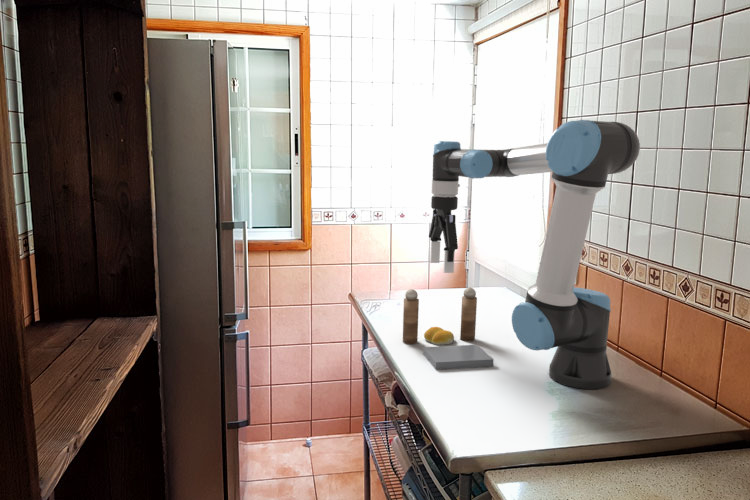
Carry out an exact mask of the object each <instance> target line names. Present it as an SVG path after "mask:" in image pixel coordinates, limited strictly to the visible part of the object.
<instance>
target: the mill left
mask: <svg viewBox="0 0 750 500" xmlns="http://www.w3.org/2000/svg"><path fill="white" fill-rule="evenodd" d="M404 295H405V298H403V314H402V317H403V318H402V343H403V344H406V345H415V344H417V343H418V338H419V337H418V336H419V335H418V333H419V310H420V309H419V305H420V301H419V300H420V299H419V298H418V293H417V291H416V290H415V289H411V288H410V289H408V290H406V292H405V294H404Z"/></svg>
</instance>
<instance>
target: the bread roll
mask: <svg viewBox="0 0 750 500" xmlns="http://www.w3.org/2000/svg"><path fill="white" fill-rule="evenodd" d="M423 337H424V340H425V341H426V342H428V343H432V344H433V345H436V346H437V345H438V346H449V345H451V344H453V342H454V341H455V336H454V334H453V332H452V331H450V330H446V329H443V328H442V327H439V326H432V327H430V328H428V329H427V330H425V332H424V334H423Z"/></svg>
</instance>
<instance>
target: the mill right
mask: <svg viewBox="0 0 750 500" xmlns="http://www.w3.org/2000/svg"><path fill="white" fill-rule="evenodd" d="M476 293H477V292H476V290H475V289H474V288H473V287H466V288H465V289H464V291H463V296H462V297H461V315H460V317H461V318H460V334H459V338H460V340H461V341H463V342H474V341H475V339H476V326H477V323H476V322H477V303H478V298H477V295H476Z"/></svg>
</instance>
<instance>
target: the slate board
mask: <svg viewBox="0 0 750 500" xmlns="http://www.w3.org/2000/svg"><path fill="white" fill-rule="evenodd" d="M422 354H423V356H424V357H425V358H426V359H427V361H428V362H429V363H430V364H431V366H432V367H433V368H434V370H435V371H437V370H452V369H454V370H455V369H470V368H471V369H473V368H474V369H475V368H487V367H488V368H490V367H491V368H492V367H494V358H493V357H492V356H491V355H489V353H487V352H486V351H485V350H484V349H483V348H482V347H481V346H480V345H479V344H465V345H464V344H463V345H439V346H425V347H424V346H423V353H422Z"/></svg>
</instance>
